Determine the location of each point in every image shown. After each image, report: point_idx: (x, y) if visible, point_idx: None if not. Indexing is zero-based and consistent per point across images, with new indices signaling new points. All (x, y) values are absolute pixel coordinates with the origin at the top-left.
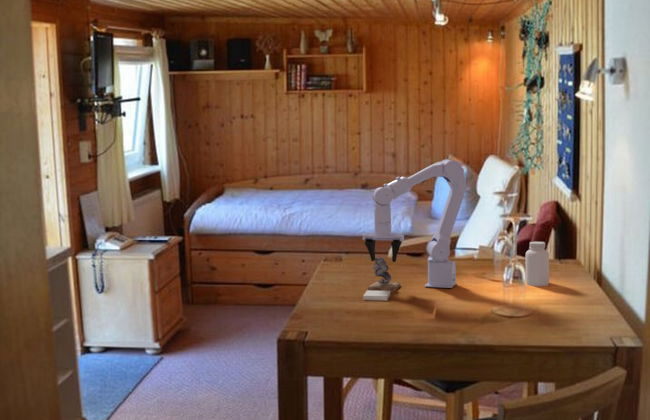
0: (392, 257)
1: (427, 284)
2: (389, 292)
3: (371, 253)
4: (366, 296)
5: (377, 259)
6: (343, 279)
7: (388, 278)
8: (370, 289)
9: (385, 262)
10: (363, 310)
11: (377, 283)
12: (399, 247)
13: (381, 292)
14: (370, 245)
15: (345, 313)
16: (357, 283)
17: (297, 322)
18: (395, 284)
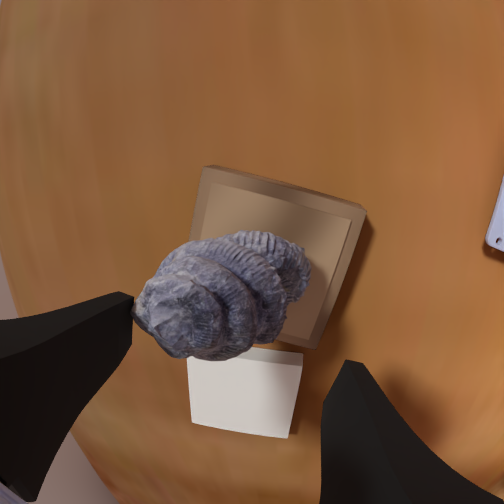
0: (323, 445)
1: (501, 222)
2: (297, 390)
3: (84, 398)
4: (205, 423)
5: (161, 343)
6: (58, 18)
7: (289, 294)
8: None
9: (252, 341)
10: (223, 487)
11: (219, 236)
12: (442, 469)
13: (260, 391)
14: (41, 471)
15: (186, 492)
16: (110, 79)
17: (122, 500)
18: (334, 268)
